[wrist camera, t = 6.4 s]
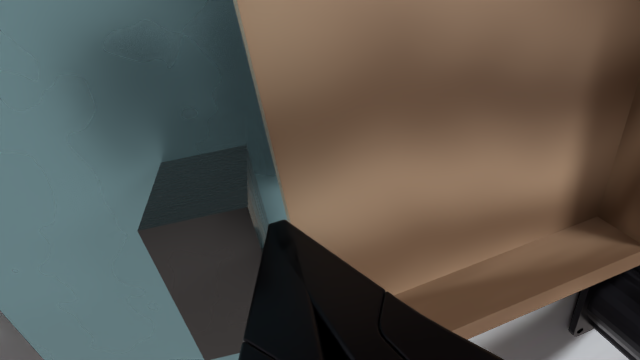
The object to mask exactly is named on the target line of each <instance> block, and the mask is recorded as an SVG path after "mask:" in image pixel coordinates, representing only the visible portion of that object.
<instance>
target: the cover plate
mask: <svg viewBox="0 0 640 360" xmlns="http://www.w3.org/2000/svg"><path fill="white" fill-rule="evenodd" d="M283 219H285V220H287V221H288V222H289V223H291V221H290V217H289V213H288V209H287V205H286V201H285V197H284V193H283V189H282V184H281V180H280V176H279V172H278V168H277V164H276V160H275V156H274V152H273V147H272V143H271V139H270V135H269V131H268V127H267V123H266V119H265V115H264V110H263V106H262V102H261V98H260V94H259V90H258V86H257V82H256V77H255V73H254V69H253V65H252V61H251V57H250V53H249V49H248V45H247V40H246V36H245V32H244V28H243V24H242V20H241V16H240V12H239V8H238V3H237V0H0V311H1V312H2V313H3V314H4V315H5V316H6V318H7V319H8V320H9V321H10V322H11V323H12V324H13V325H14V327H15V328H16V329H17V330H18V331H19V332H20V333H21V334H22V336H23V337H24V338H25V339H26V340H27V341H28V342H29V343H30V345H31V346H32V347H33V348H34V349H35V350H36V351H37V352H38V353H39V355H40V356H41V357H42V358H43V359H44V360H238V358H239V354H240V349H241V345H242V343H243V337H244V332H245V328H246V323H247V319H248V315H249V310H250V306H251V301H252V297H253V292H254V288H255V283H256V279H257V274H258V270H259V265H260V261H261V257H262V252H263V248H264V243H265V239H266V234H267V230H268V225H269V224H270V223H273V222H277V221H280V220H283Z"/></svg>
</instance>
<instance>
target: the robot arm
mask: <svg viewBox="0 0 640 360" xmlns="http://www.w3.org/2000/svg"><path fill="white" fill-rule="evenodd" d="M592 329H595V330H597V331H598V332H599V333H600V334H601V335H602V336H603V337H604V338H606V339H607V340H608V341H609V342H610V343H611V344H612V345H614V346H615V347H616V348H617V349H618V350H619V351H620V352H621V353H623V354H624V355H625V356H626V357H627V358H628V359H629V360H640V265H639V266H637V267H634V268H632V269H630V270H627V271H625V272H623V273H620V274H618V275H616V276H613V277H611V278H609V279H607V280H604V281H602V282H600V283H597V284H595V285H593V286H590V287H588V288H586V289H583V290H581V292H580V295H579V299H578V302H577V305H576V308H575V311H574V314H573V317H572V321H571V324H570V327H569V331H570V332H571V333H572V334H573V335H574V336H579V335H581V334H583V333H585V332H588V331H590V330H592ZM238 360H504V359H502V358H500V357H498V356H496V355H494V354H492V353H491V352H489V351H487V350H485V349H483V348H481V347H480V346H478V345H476V344H474V343H472V342H470V341H469V340H467V339H465V338H463V337H461V336H459V335H458V334H456V333H454V332H452V331H450V330H448V329H447V328H445V327H443V326H441V325H440V324H438V323H436V322H434V321H433V320H431V319H429V318H427V317H426V316H424V315H422V314H421V313H419V312H418V311H416V310H415V309H413V308H412V307H410V306H408V305H407V304H405V303H404V302H402V301H401V300H399V299H398V298H397V297H395V296H394V295H392V294H391V293H390V292H388V291H387V292H386V291H385V289H384V288H382V287H381V286H379V285H378V284H376V283H375V282H374V281H372V280H371V279H369V278H368V277H366V276H365V275H364V274H362V273H361V272H359V271H358V270H356V269H355V268H354V267H352V266H351V265H349V264H348V263H346V262H345V261H344V260H342V259H341V258H339V257H338V256H337V255H335V254H334V253H332V252H331V251H329V250H328V249H327V248H325V247H324V246H322V245H321V244H319V243H318V242H317V241H315V240H314V239H312V238H311V237H309V236H308V235H307V234H305V233H304V232H302V231H301V230H299V229H298V228H297V227H295V226H294V225H292V224H291V223H289V222H288V221H287V220H285V219H283V220H280V221H277V222H273V223H270V224H269V225H268V230H267V234H266V239H265V243H264V248H263V252H262V257H261V261H260V265H259V270H258V274H257V279H256V283H255V288H254V292H253V297H252V301H251V306H250V310H249V315H248V319H247V323H246V328H245V332H244V337H243V343H242V345H241V349H240V354H239V358H238Z"/></svg>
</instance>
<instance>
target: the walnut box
mask: <svg viewBox="0 0 640 360" xmlns="http://www.w3.org/2000/svg"><path fill="white" fill-rule="evenodd" d="M237 3H238V8H239V12H240V16H241V20H242V24H243V28H244V32H245V36H246V40H247V45H248V49H249V53H250V57H251V61H252V65H253V69H254V73H255V77H256V82H257V86H258V90H259V94H260V98H261V102H262V106H263V110H264V115H265V119H266V123H267V127H268V131H269V135H270V139H271V143H272V147H273V152H274V156H275V160H276V164H277V168H278V172H279V176H280V180H281V184H282V189H283V193H284V197H285V201H286V205H287V209H288V213H289V217H290V221H291V224H292V225H294V226H295V227H297V228H298V229H299V230H301V231H302V232H304V233H305V234H307V235H308V236H309V237H311V238H312V239H314V240H315V241H317V242H318V243H319V244H321V245H322V246H324V247H325V248H327V249H328V250H329V251H331V252H332V253H334V254H335V255H337V256H338V257H339V258H341V259H342V260H344V261H345V262H346V263H348V264H349V265H351V266H352V267H354V268H355V269H356V270H358V271H359V272H361V273H362V274H364V275H365V276H366V277H368V278H369V279H371V280H372V281H374V282H375V283H376V284H378V285H379V286H381V287H382V288H384V289H385V291H386V292H387V291H388V292H390V293H391V294H392V295H394V296H395V297H397V298H398V299H399V300H401V301H402V302H404V303H405V304H407V305H408V306H410V307H412V308H413V309H415V310H416V311H418V312H419V313H421V314H422V315H424V316H426V317H427V318H429V319H431V320H433V321H434V322H436V323H438V324H440V325H441V326H443V327H445V328H447V329H448V330H450V331H452V332H454V333H456V334H458V335H459V336H461V337H463V338H465V339H470V338H472V337H474V336H477V335H479V334H481V333H484V332H486V331H488V330H490V329H493V328H495V327H497V326H500V325H502V324H504V323H507V322H509V321H511V320H514V319H516V318H518V317H521V316H523V315H525V314H528V313H530V312H532V311H535V310H537V309H539V308H542V307H544V306H546V305H549V304H551V303H553V302H555V301H558V300H560V299H562V298H565V297H567V296H569V295H572V294H574V293H576V292H579V291H581V290H583V289H586V288H588V287H590V286H593V285H595V284H597V283H600V282H602V281H604V280H607V279H609V278H611V277H613V276H616V275H618V274H620V273H623V272H625V271H627V270H630V269H632V268H634V267H637V266H639V265H640V0H237Z"/></svg>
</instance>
